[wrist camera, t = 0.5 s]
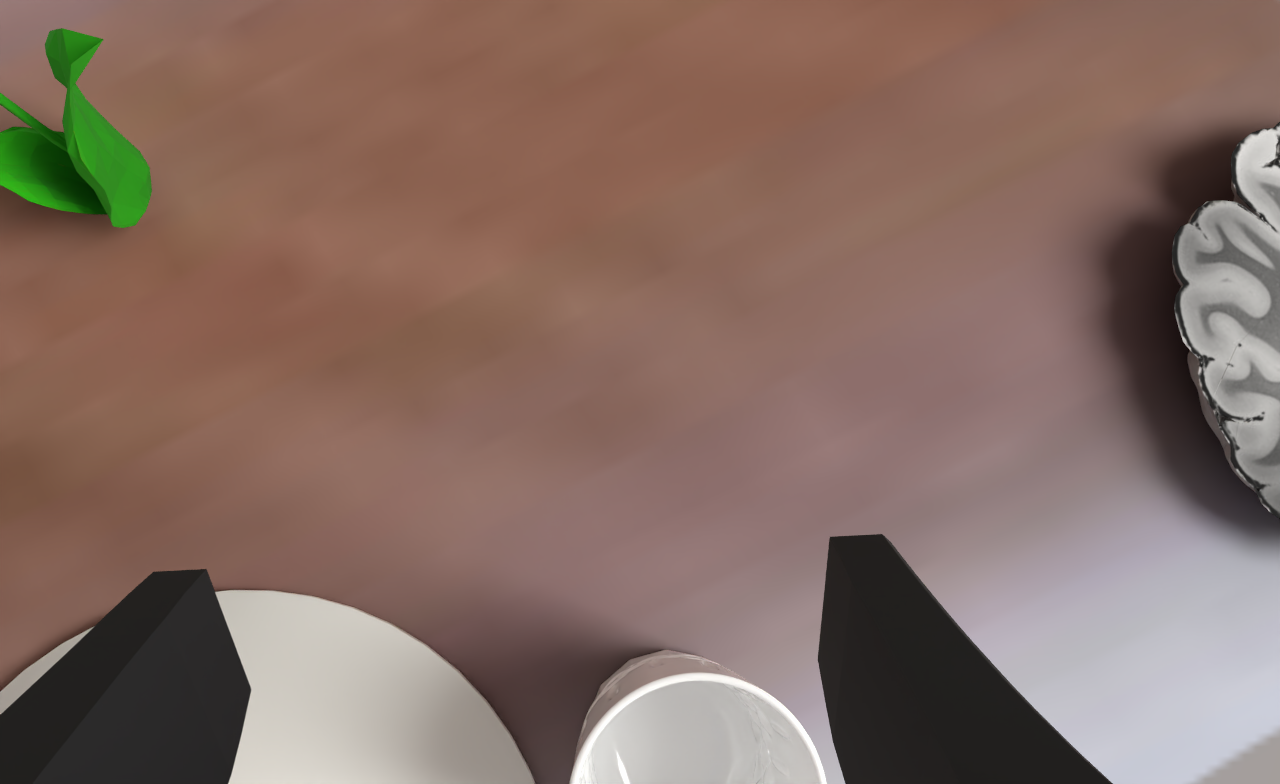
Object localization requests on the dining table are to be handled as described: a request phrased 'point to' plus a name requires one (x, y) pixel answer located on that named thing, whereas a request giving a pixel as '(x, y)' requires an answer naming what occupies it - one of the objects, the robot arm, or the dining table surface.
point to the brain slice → (1237, 313)
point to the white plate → (345, 700)
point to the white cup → (690, 729)
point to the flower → (74, 148)
